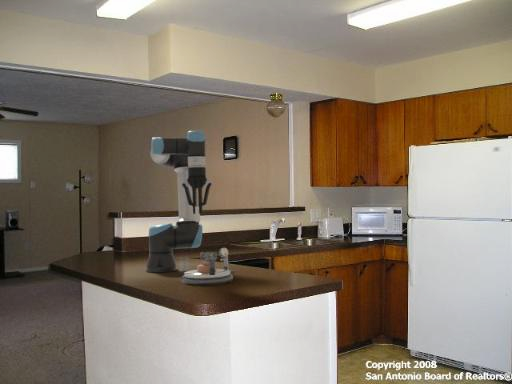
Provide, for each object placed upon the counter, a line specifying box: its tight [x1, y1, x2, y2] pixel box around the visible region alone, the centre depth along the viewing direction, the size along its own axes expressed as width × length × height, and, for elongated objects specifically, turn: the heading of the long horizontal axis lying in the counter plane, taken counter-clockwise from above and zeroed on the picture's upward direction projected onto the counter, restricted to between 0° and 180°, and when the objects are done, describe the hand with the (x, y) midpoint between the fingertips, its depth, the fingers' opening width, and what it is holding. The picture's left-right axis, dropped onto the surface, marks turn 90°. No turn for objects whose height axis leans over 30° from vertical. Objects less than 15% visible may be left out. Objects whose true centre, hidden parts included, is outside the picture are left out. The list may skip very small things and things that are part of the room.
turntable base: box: [181, 274, 234, 286], centre depth 221 cm, size 22×22×2 cm
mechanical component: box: [199, 251, 218, 262], centre depth 243 cm, size 3×10×10 cm, turn 51°
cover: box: [196, 261, 217, 274], centre depth 221 cm, size 8×8×4 cm
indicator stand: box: [218, 247, 229, 270], centre depth 231 cm, size 5×6×13 cm
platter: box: [183, 258, 235, 279], centre depth 222 cm, size 22×20×8 cm
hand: (197, 221), depth 220 cm, fingers closed
